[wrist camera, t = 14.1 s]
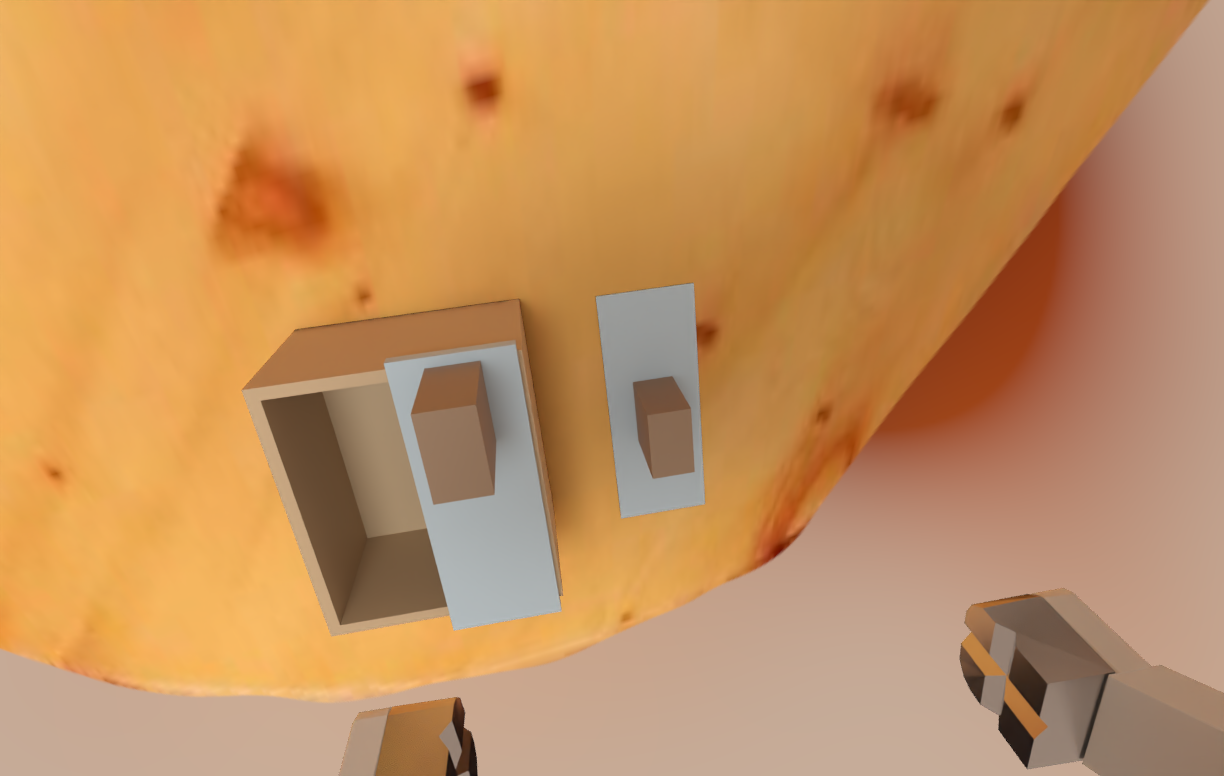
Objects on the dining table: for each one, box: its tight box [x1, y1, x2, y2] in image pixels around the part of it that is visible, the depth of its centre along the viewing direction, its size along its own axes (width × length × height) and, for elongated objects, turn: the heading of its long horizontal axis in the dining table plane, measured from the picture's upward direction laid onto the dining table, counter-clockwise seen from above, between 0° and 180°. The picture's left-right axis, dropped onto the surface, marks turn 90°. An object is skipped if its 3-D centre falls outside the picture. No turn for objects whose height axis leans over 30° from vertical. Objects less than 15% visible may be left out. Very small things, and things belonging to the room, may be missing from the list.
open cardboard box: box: [242, 299, 563, 636], centre depth 36 cm, size 12×14×8 cm
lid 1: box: [384, 340, 561, 630], centre depth 30 cm, size 6×15×5 cm, turn 6°
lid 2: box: [596, 283, 705, 518], centre depth 39 cm, size 6×15×5 cm, turn 6°
